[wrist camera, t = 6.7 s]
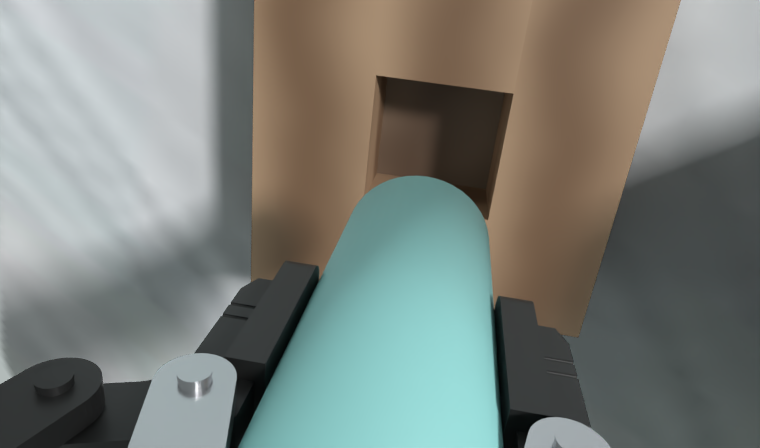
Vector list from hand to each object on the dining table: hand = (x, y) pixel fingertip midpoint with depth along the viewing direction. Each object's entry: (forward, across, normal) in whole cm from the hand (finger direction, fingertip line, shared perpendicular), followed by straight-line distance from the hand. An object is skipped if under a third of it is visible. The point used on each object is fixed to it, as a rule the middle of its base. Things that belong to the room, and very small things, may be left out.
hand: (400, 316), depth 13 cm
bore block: (+18, 0, 0) cm, 18 cm away
